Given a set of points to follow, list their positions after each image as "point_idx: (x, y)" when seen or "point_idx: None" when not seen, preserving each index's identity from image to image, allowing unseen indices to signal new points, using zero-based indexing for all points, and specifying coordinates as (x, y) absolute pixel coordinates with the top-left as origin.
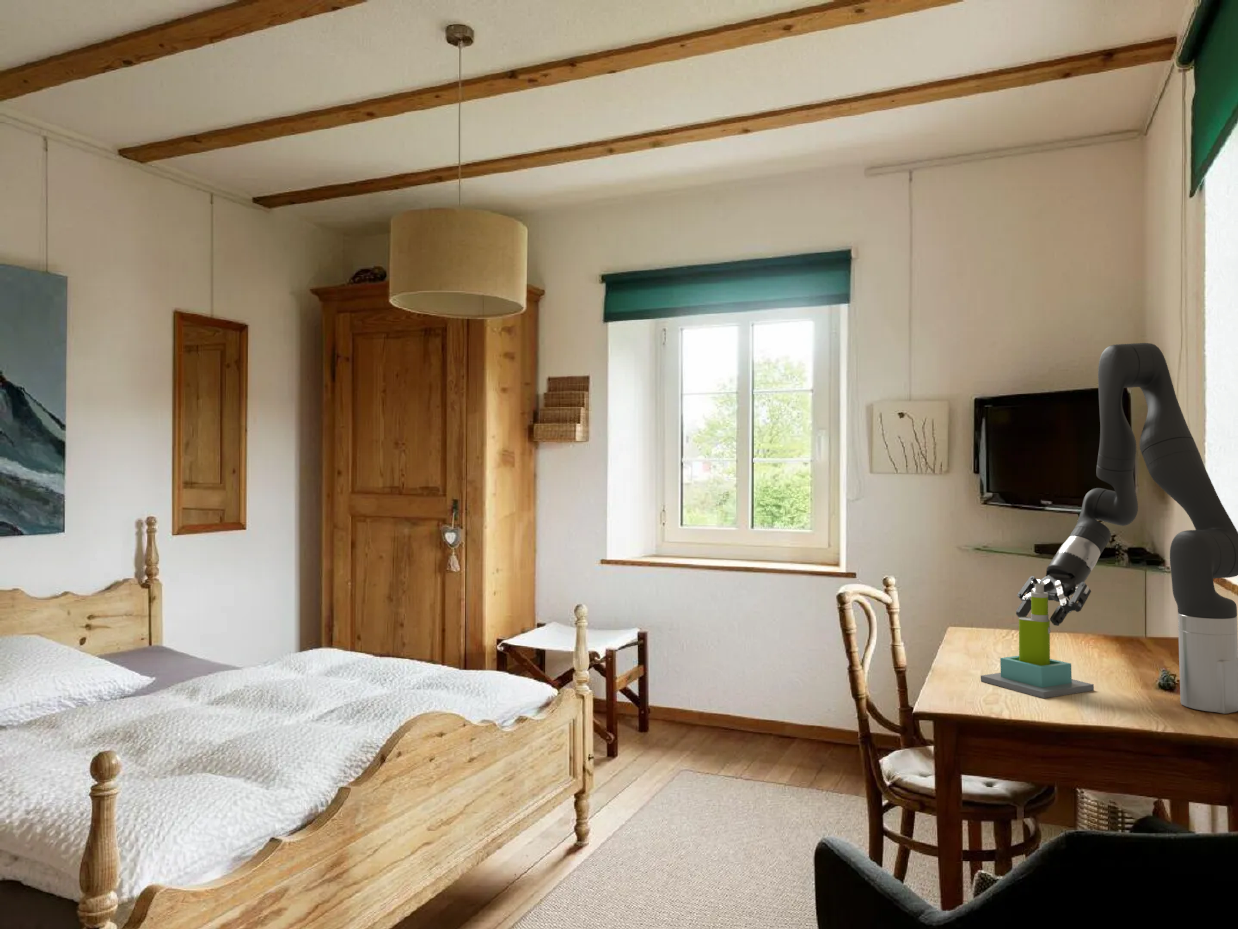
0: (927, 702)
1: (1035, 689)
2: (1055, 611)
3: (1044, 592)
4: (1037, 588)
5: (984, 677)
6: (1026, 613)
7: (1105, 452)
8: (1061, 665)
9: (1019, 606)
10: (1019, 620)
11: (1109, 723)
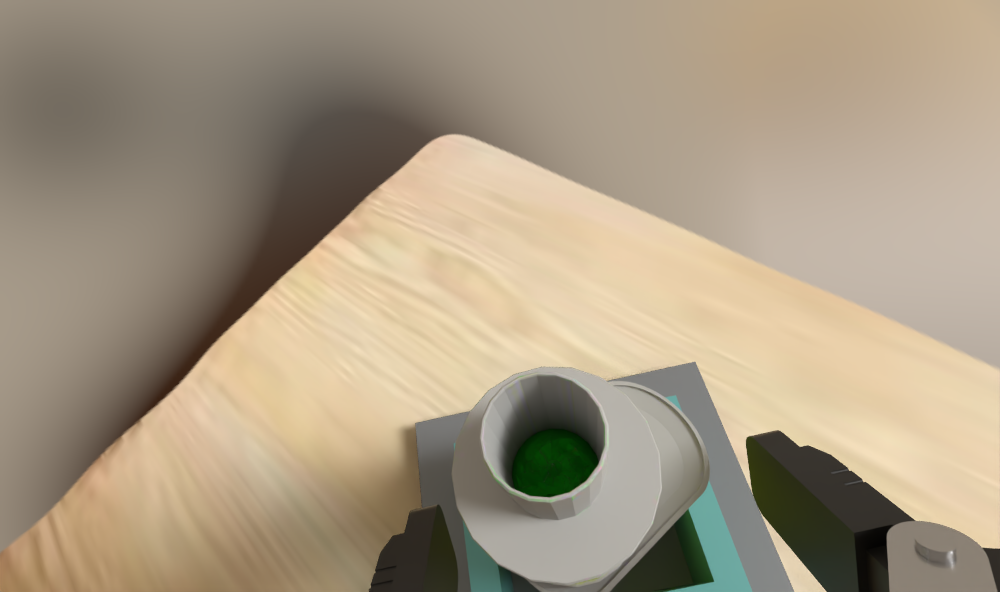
0: (493, 149)
1: (454, 422)
2: (415, 562)
3: (564, 556)
4: (525, 398)
5: (676, 367)
6: (792, 537)
7: None
8: (470, 582)
9: (860, 484)
10: (631, 387)
11: (157, 430)
